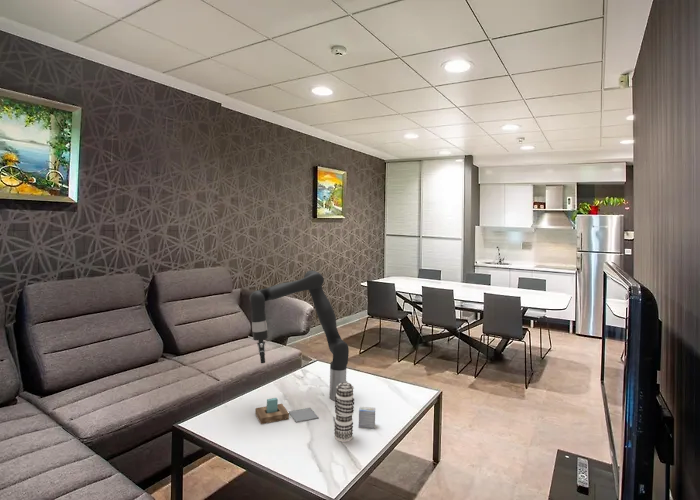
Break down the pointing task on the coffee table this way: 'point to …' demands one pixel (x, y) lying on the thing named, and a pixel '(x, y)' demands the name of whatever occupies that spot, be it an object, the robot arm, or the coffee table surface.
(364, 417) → the medicine box
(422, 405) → the coffee table surface
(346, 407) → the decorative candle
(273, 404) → the teal rectangular block
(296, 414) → the mat
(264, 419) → the holder
